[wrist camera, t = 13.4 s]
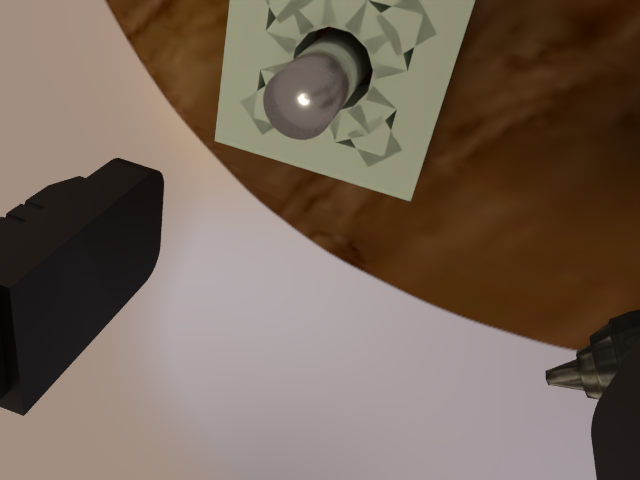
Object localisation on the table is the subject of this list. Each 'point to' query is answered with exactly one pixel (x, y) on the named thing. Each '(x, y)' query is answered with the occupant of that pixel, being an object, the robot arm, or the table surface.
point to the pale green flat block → (366, 101)
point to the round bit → (316, 85)
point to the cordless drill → (599, 357)
